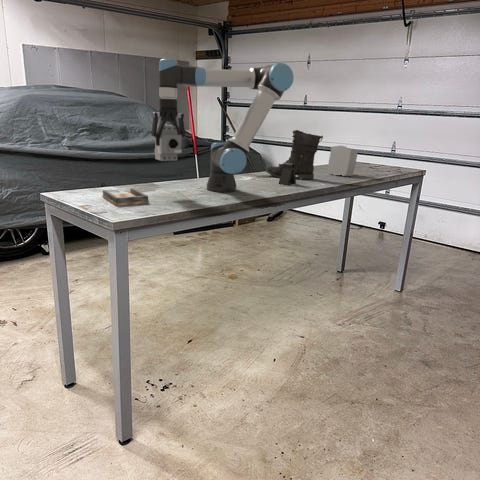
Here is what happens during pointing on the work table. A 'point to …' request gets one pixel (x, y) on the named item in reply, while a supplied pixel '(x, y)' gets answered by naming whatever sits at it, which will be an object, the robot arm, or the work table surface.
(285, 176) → the door stopper
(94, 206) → the work table surface
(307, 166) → the boot
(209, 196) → the work table surface
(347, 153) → the electrical switch box
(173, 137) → the circuit breaker
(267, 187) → the work table surface
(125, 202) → the track
